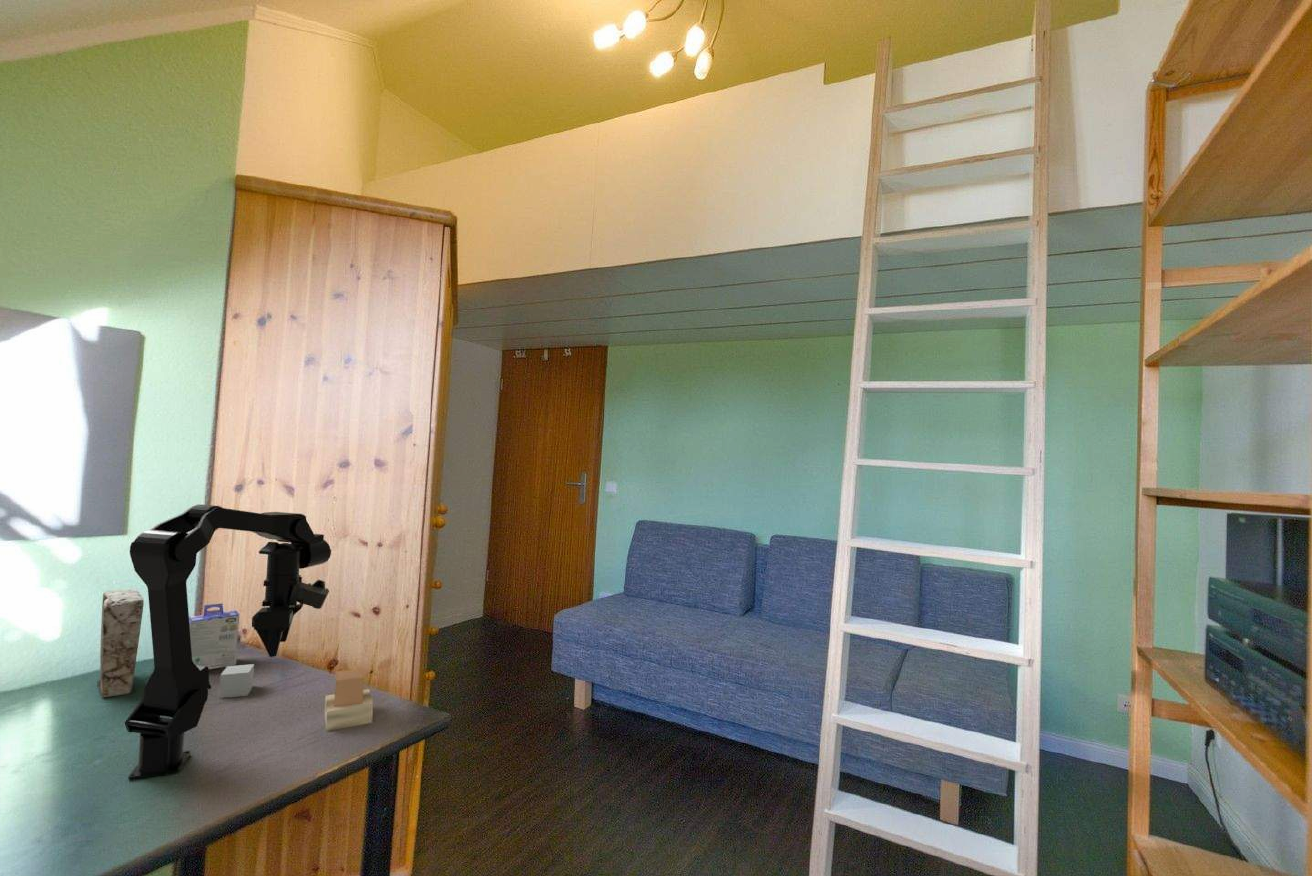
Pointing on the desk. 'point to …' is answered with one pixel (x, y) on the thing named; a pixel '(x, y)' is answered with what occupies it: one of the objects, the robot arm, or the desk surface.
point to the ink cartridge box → (214, 637)
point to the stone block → (119, 640)
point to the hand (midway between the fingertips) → (278, 648)
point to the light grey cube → (236, 681)
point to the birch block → (348, 712)
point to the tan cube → (349, 687)
